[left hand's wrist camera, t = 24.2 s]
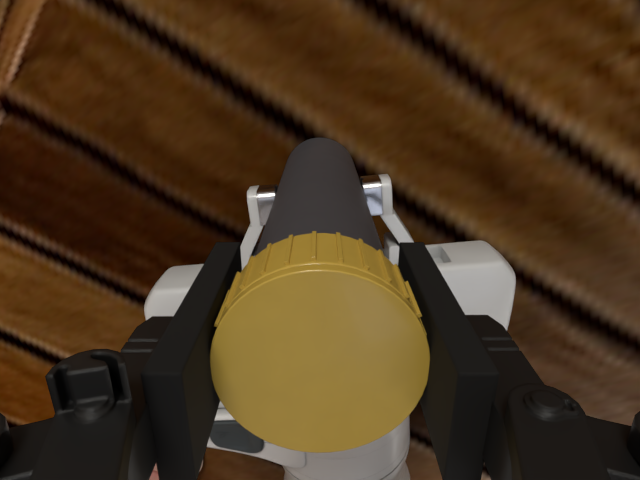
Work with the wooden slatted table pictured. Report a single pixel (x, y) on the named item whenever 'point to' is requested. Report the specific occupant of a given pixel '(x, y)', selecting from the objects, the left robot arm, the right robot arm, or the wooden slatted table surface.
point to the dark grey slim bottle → (320, 197)
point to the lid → (319, 345)
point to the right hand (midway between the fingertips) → (317, 182)
